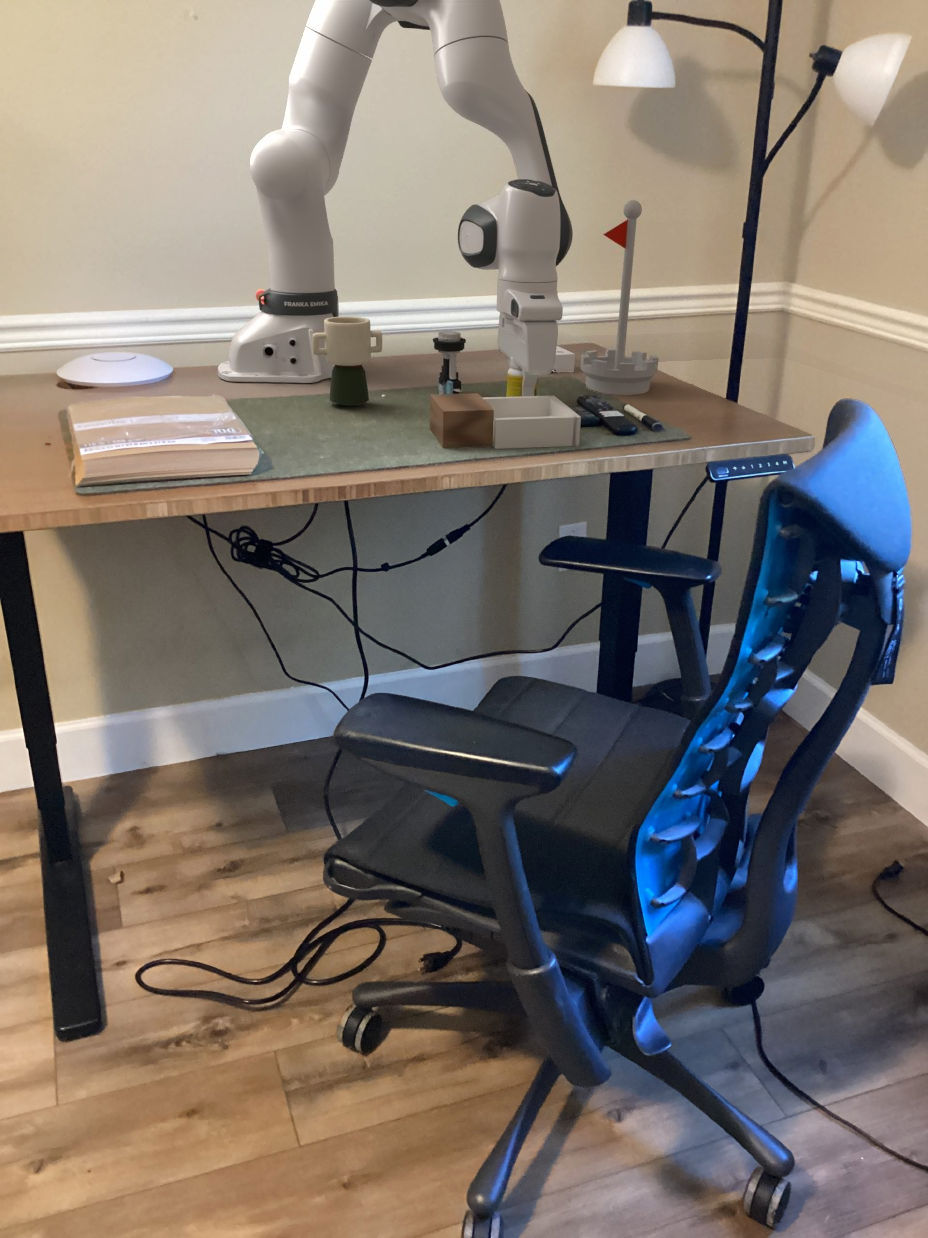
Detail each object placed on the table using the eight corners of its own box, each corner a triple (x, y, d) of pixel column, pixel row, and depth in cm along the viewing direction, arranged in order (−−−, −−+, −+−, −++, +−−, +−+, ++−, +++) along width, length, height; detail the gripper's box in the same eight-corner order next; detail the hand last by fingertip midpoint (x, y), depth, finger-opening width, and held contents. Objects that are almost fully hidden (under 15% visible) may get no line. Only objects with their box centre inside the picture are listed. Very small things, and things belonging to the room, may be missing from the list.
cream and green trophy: (377, 397, 164) (376, 314, 159) (388, 408, 158) (387, 322, 153) (310, 401, 161) (307, 317, 156) (319, 412, 155) (316, 324, 149)
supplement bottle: (526, 417, 155) (529, 361, 151) (499, 412, 157) (502, 357, 153) (541, 410, 159) (544, 356, 155) (515, 406, 161) (517, 352, 157)
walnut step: (442, 447, 139) (443, 411, 137) (429, 428, 148) (430, 394, 145) (492, 445, 140) (493, 409, 138) (476, 427, 149) (477, 393, 147)
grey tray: (495, 448, 139) (496, 419, 137) (474, 424, 150) (475, 397, 149) (578, 445, 141) (580, 417, 139) (552, 421, 153) (554, 395, 151)
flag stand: (627, 377, 183) (643, 197, 170) (670, 392, 172) (691, 202, 160) (565, 382, 178) (577, 197, 165) (605, 398, 167) (621, 202, 154)
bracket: (512, 361, 195) (514, 320, 192) (546, 359, 197) (548, 319, 194) (537, 375, 184) (540, 332, 181) (573, 373, 186) (576, 331, 183)
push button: (473, 399, 165) (475, 336, 161) (443, 401, 163) (444, 338, 159) (456, 390, 170) (457, 329, 166) (427, 392, 168) (427, 331, 164)
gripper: (489, 289, 159) (486, 378, 165) (523, 310, 141) (518, 408, 147) (528, 289, 160) (524, 377, 166) (566, 309, 142) (560, 407, 148)
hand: (521, 392), depth 156 cm, fingers open, 5 cm apart
